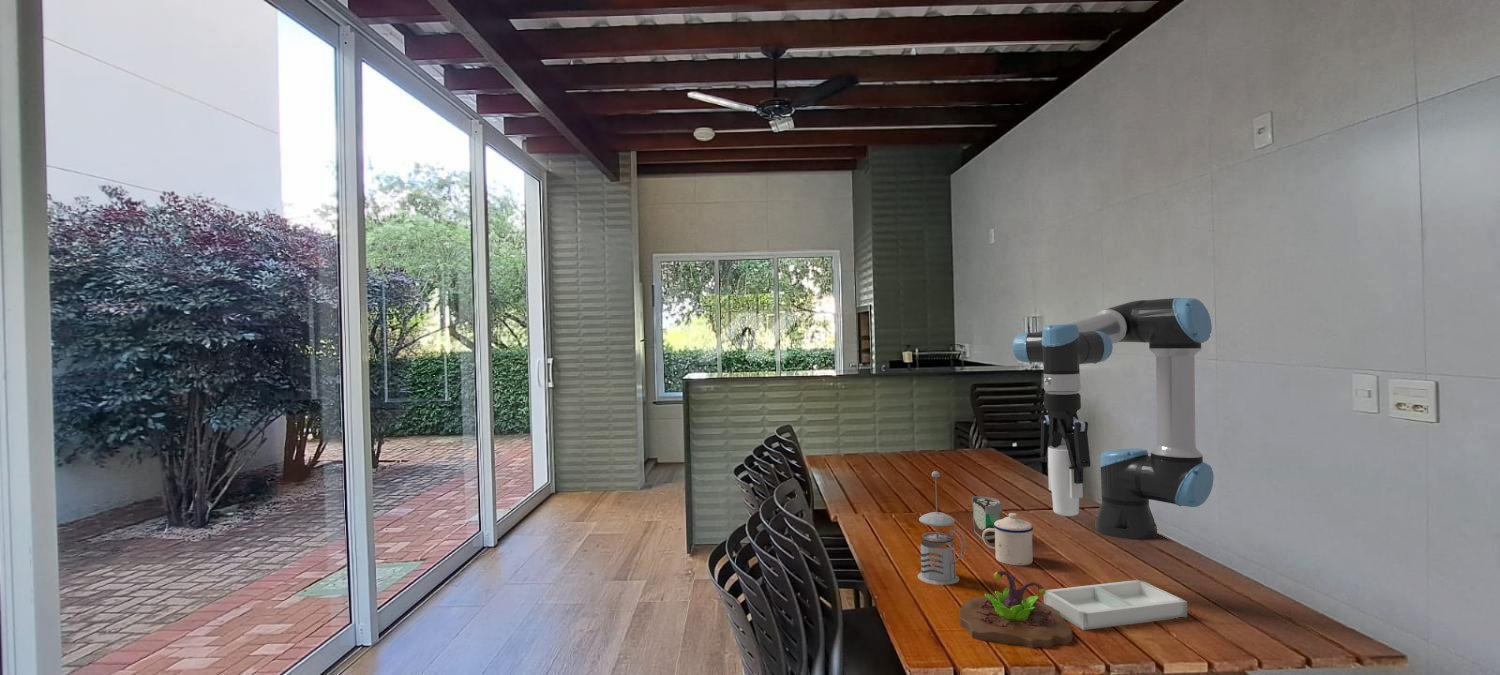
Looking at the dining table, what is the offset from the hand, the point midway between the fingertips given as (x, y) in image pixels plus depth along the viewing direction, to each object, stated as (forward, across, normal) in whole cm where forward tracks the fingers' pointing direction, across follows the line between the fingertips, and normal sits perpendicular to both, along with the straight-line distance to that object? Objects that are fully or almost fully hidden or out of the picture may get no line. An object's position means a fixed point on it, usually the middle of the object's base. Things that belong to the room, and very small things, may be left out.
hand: (1065, 493), depth 152 cm
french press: (+20, -9, -26) cm, 34 cm away
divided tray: (+20, +17, -2) cm, 26 cm away
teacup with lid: (+20, -17, -5) cm, 27 cm away
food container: (+20, -35, +2) cm, 40 cm away
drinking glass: (+5, 0, 0) cm, 5 cm away
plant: (+20, +18, -25) cm, 37 cm away
